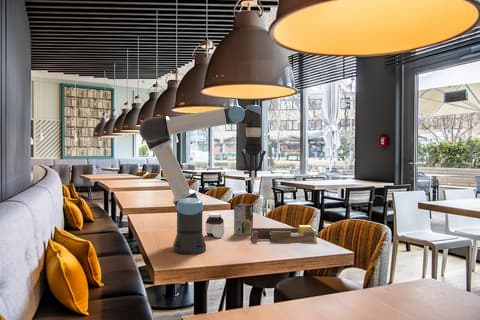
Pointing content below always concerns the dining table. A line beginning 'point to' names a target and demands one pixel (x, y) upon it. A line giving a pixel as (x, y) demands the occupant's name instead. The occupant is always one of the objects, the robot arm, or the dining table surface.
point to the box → (282, 235)
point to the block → (304, 229)
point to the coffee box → (243, 219)
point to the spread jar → (215, 225)
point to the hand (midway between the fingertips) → (252, 184)
